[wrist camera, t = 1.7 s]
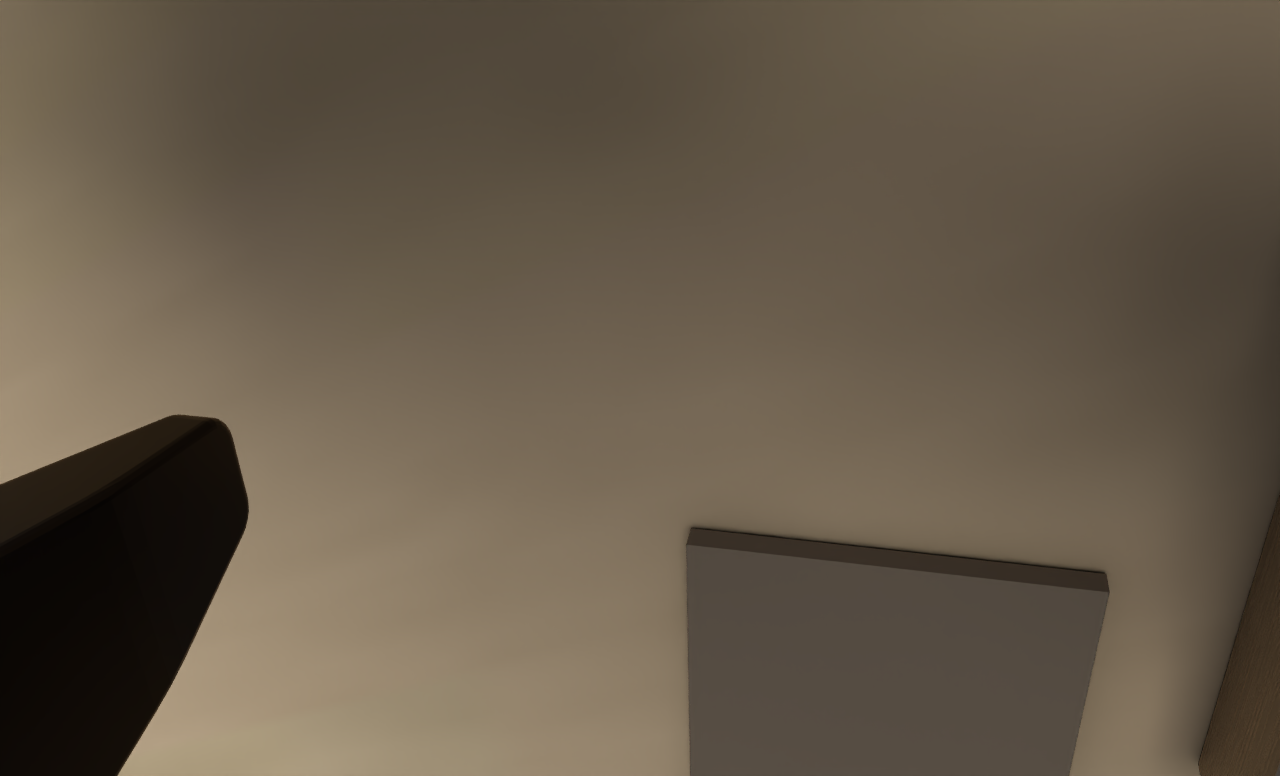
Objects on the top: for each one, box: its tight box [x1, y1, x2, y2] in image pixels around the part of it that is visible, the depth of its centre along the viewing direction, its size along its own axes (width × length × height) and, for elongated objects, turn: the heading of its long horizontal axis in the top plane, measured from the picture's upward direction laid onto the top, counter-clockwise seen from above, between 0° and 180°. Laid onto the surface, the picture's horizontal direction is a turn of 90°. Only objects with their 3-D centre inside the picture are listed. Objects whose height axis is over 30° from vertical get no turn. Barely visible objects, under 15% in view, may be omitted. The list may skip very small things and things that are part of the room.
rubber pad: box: [686, 528, 1109, 776], centre depth 19 cm, size 8×6×1 cm
